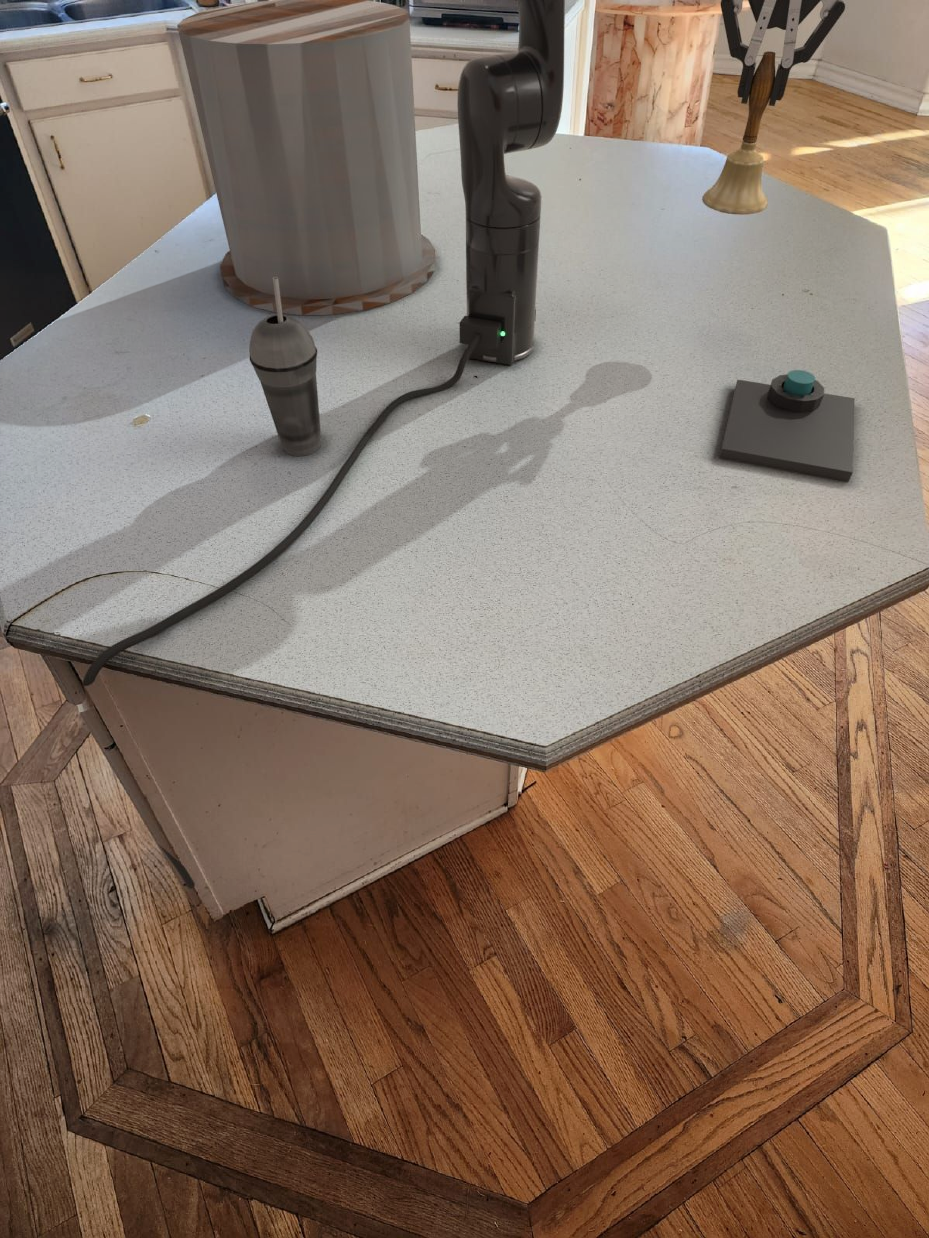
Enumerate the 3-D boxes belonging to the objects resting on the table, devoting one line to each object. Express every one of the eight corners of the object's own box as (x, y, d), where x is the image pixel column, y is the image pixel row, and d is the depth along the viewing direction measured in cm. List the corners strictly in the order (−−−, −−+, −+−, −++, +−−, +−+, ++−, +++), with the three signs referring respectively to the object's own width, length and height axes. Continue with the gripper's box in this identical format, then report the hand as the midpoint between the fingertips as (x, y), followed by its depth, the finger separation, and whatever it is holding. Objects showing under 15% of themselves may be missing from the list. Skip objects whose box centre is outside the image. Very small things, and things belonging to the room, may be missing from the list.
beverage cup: (304, 421, 93) (271, 254, 79) (345, 442, 90) (319, 272, 76) (258, 448, 90) (214, 278, 75) (300, 470, 86) (263, 297, 72)
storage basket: (478, 255, 127) (478, 10, 103) (334, 337, 108) (293, 61, 84) (327, 211, 141) (296, -12, 117) (176, 277, 122) (104, 27, 99)
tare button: (810, 398, 90) (814, 385, 89) (782, 394, 91) (786, 381, 90) (811, 385, 92) (816, 372, 91) (784, 381, 93) (788, 368, 92)
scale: (848, 482, 84) (858, 460, 81) (718, 458, 87) (725, 436, 85) (850, 406, 94) (859, 384, 92) (735, 387, 97) (741, 365, 95)
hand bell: (756, 219, 94) (798, 64, 83) (692, 207, 97) (724, 55, 85) (775, 198, 99) (817, 49, 87) (713, 187, 102) (746, 40, 90)
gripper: (733, -94, 76) (695, 107, 89) (880, -90, 73) (819, 117, 86) (738, -101, 81) (701, 90, 94) (877, -98, 78) (819, 99, 91)
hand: (758, 102), depth 90 cm, fingers closed on hand bell, 2 cm apart
